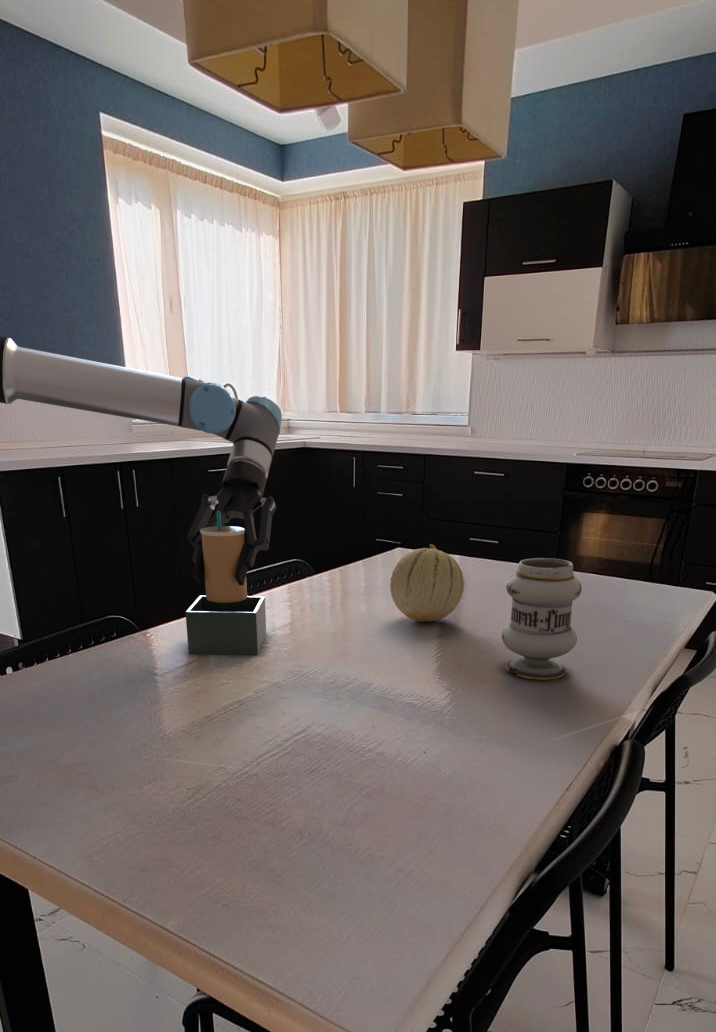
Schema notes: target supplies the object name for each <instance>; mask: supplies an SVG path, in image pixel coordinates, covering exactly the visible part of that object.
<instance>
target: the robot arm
mask: <svg viewBox="0 0 716 1032" xmlns="http://www.w3.org/2000/svg"><path fill="white" fill-rule="evenodd" d="M16 400H23V401H29V402H35V403H40V404H46V405H51V406H57V407H64V408H68V409H69V408H70V409H75V410H81V411H87V412H92V413H99V414H104V415H110V416H114V417H122V418H127V419H133V420H138V421H144V422H151V423H155V424H161V425H166V426H167V425H168V426H174V427H178V428H183V429H187V430H188V429H190V430H193V431H194V430H195V431H201V432H203V433H207V434H213V435H214V436H218V437H219V438H222V439H223V440H226V441H228V442H230V443H232V448H231V451H230V454H229V456H228V457H229V458H228V460H227V464H226V465H227V466H226V468H225V472H224V475H223V478H222V482H221V489H220V490H219V492H218V493H217V494H216V495H212V496H209V495H208V494H207V493H203V494H202V495H201V500H200V501H201V504H200V506H199V509H198V511H197V513H196V516H195V518H194V520H193V522H192V524H191V527H190V529H189V531H188V533H187V536H186V537H187V540H188V541H189V543H190V545H191V546H192V547H193V548H194V549H193V553H192V556H191V559H192V561H193V563H194V564H193V567H192V572H191V575H192V577H193V579H194V580H195V582H196V583H197V584H202V581H203V578H204V575H205V573H204V559H203V545H202V534H201V529H203V528H207V527H216V526H217V515H216V512H217V511H220V512H221V526H225V524H228V523H229V522H230V520H231V519H237V518H238V519H241V520H243V522H244V523H243V524H244V529H245V534H246V539H247V540H246V542H247V544H244V545H243V547H242V551H241V554H240V558H239V562H238V566H237V569H236V573H235V578H236V580H237V582H238V584H239V585H244V582H245V578H246V579H247V573H248V570H249V568H253V567H254V564H255V562H256V557H257V554H258V553H259V552H260V551H264V552H266V551H267V552H268V550H269V549H270V543H271V542H270V541H271V540H270V539H271V531H272V524H273V523H272V521H273V515H274V513H275V512H276V509H277V504H276V503H275V500H274V497H273V496H272V495H269V496H267V497H263V496H264V491H265V488H266V485H267V479H268V477H269V473H270V469H271V464H272V461H273V456H274V454H275V450H276V446H277V442H278V439H279V436H280V435H281V426H282V420H283V414H282V411H281V408H280V406H279V405H278V403H276V401H274V400H273V399H271V398H269V397H267V396H259V395H253V396H250V397H249V398H247V400H246V401H245V400H242V399H238V398H237V397H234V396H232V394H231V392H230V391H229V390H228V389H227V388H226V387H224V386H223V385H222V384H219V383H216V382H205V381H204V380H202V379H200V378H199V379H198V378H195V377H193V376H191V375H185V376H184V377H183V378H182V377H178V376H172V375H167V374H161V373H158V372H153V371H146V370H141V369H138V368H137V369H136V368H131V367H126V366H121V365H115V364H110V363H105V362H99V361H94V360H89V359H85V358H78V357H75V356H74V357H73V356H69V355H64V354H59V353H53V352H48V351H43V350H39V349H32V348H28V347H22V346H19V345H17V344H16V342H15V341H14V340H13V339H12V338H11V337H6V336H1V335H0V403H1V404H7V405H12V404H13V403H14V402H15V401H16ZM217 504H218V506H217V507H216V505H217ZM260 507H261V513H260V514H261V515H260V524H259V532H258V533H259V534H258V538H257V533H256V528H255V518H254V512H256V511H257V510H258V509H259V508H260ZM214 510H215V513H214V514H213V511H214ZM212 514H213V516H212Z"/></svg>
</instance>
